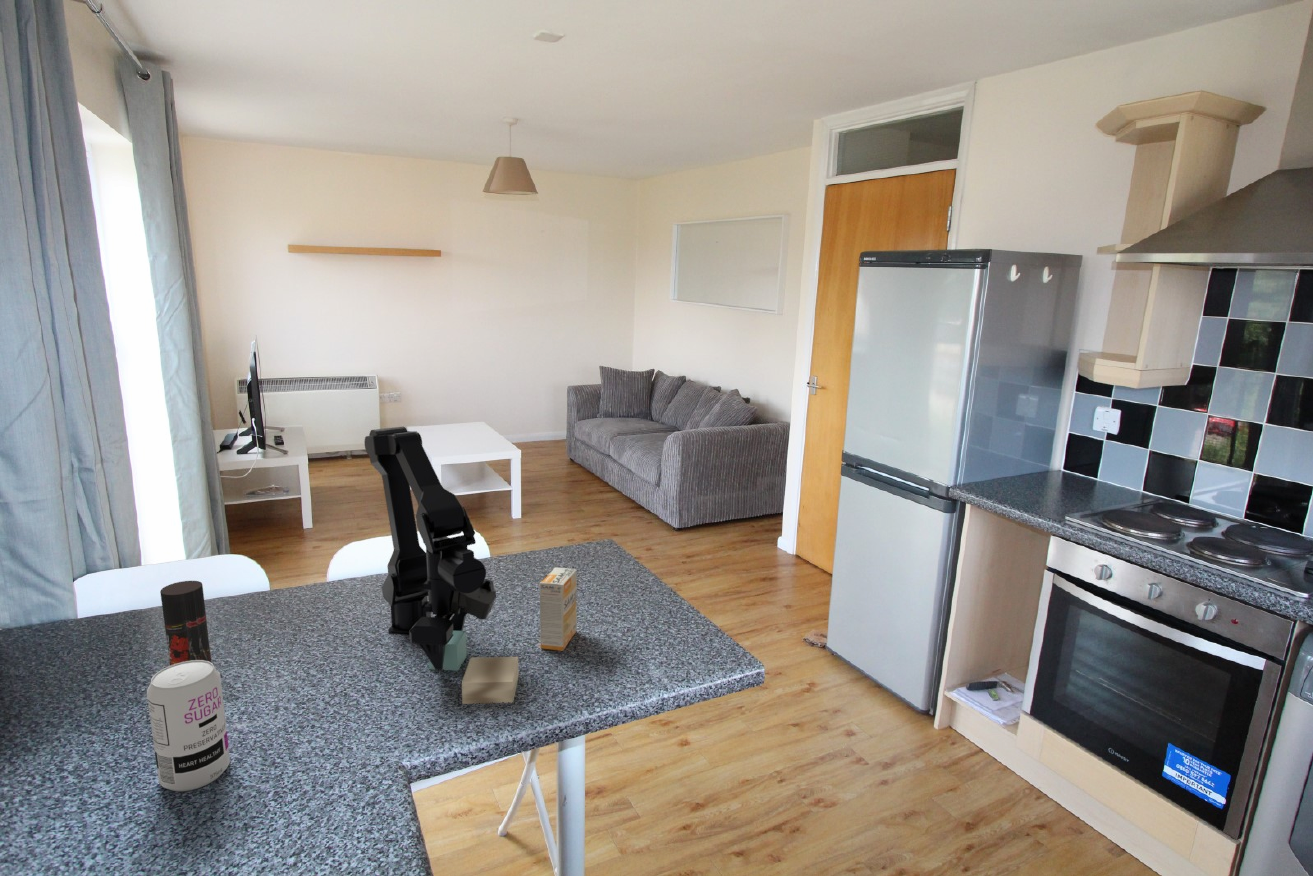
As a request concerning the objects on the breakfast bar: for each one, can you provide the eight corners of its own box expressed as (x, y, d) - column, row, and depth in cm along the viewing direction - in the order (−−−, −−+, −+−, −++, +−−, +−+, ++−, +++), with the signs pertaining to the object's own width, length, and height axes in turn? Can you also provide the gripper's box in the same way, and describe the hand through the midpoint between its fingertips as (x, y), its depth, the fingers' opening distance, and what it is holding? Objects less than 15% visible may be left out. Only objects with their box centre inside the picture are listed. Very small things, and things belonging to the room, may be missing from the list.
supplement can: (180, 756, 102) (167, 658, 99) (241, 754, 102) (231, 657, 99) (145, 795, 94) (130, 691, 91) (212, 793, 94) (199, 689, 91)
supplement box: (564, 652, 133) (563, 585, 130) (539, 649, 134) (538, 582, 131) (578, 631, 141) (577, 568, 138) (554, 629, 141) (553, 566, 139)
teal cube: (429, 669, 126) (428, 643, 125) (439, 655, 131) (438, 630, 130) (457, 671, 126) (456, 644, 125) (466, 656, 130) (465, 631, 129)
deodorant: (219, 665, 126) (210, 584, 123) (185, 681, 121) (174, 597, 117) (197, 657, 128) (187, 578, 125) (163, 673, 123) (152, 590, 120)
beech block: (462, 705, 116) (461, 682, 115) (471, 679, 124) (470, 657, 123) (513, 704, 116) (512, 681, 115) (518, 678, 124) (518, 656, 123)
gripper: (474, 598, 115) (477, 686, 118) (504, 555, 133) (506, 633, 137) (405, 595, 116) (410, 683, 119) (445, 553, 134) (448, 631, 137)
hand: (448, 656), depth 128 cm, fingers open, 9 cm apart
